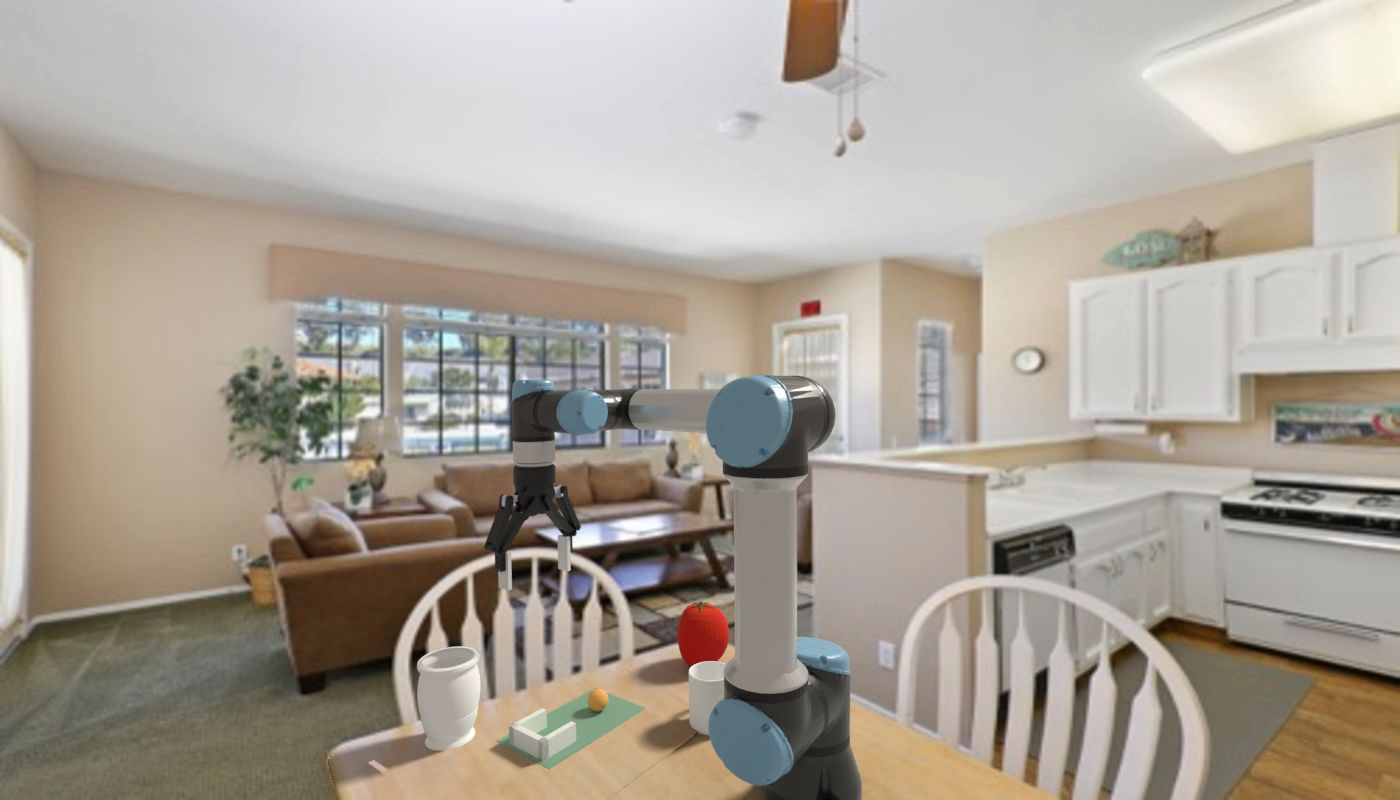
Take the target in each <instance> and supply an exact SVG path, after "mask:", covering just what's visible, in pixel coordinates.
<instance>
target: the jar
mask: <svg viewBox="0 0 1400 800" xmlns="http://www.w3.org/2000/svg"><path fill="white" fill-rule="evenodd" d="M480 656H481V655H480V651H479V650H478V649H477V648H474V647H471V646H463V645H461V646H460V645H459V646H449V647H443V648H439V649H436V650H433V651H430V652H428V653H426V654H425V655H423V656H422V657H421V658H420V659H419V660H418V661H417V664H416V669H417V672H419V677H418V681H417V707H418V712H419V715H420V722H421V725H422V726H421V727H422V729H423V731H424V733H425V735H426V738H425V741H424V745H425V747H426V748H427V749H429V750H432V751H439V752H440V751H448V750H453V749H458V748H460V747H461V746H464V745H467V743H469V742H470V741H471V740H472V739H474V737H475V735H476V729H475V728H474V725H475V722H476V719H477V717H478V711H479V703H480V697H481V676H480V670H479V666H478V663H479V660H480Z"/></svg>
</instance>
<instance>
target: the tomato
mask: <svg viewBox="0 0 1400 800" xmlns="http://www.w3.org/2000/svg"><path fill="white" fill-rule="evenodd" d="M676 633H677V644H678V645H677V646H678V650H679V652H680V656H681V658H682V660H683V662H684V663H685V665H687V666H688V667H689V668H691V667H692V666H693V665H695V664H697V663H700V662H706V661H716V662H719V660H720V659H721V658H722V657H723V655H724V654H725V653H726V650H727V648H728V646H729V641H730V630H729V625H728V620H727V618H726V617H725V614H724V613H723V612H722V611H721V610H720V609H719V608H718V607H717V606H715V605H713V604H711V603H709V601H706V602H703V601H699V602H691V604H689V605H687V606H686V607H685V609H684V610H683V611H682V612H681V615H680V619H679V622H678V625H677V632H676Z"/></svg>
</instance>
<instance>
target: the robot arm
mask: <svg viewBox="0 0 1400 800" xmlns="http://www.w3.org/2000/svg"><path fill="white" fill-rule="evenodd" d="M510 405H511V421H512V422H511V427H512V430H511V431H512V461H513V463H514V464H516V465H514V466H513V468H512V480H513V481H512V482H513V486H514V488H515V490H514V494H511V495H510V494H504V493H502V494H500V495H499V499H498V508H497V510H496V514H495V516H494V519H493V521H492V524H491V527H490V530H489V531H488V532H489V533H488V534H487V538H486V539H485V543H484V545H483V549H484V550H485V551H488V552H492V553H493V554H494V569H495V571H496V572H498V573H497V574H498V588H499V589H501V590H506V591H512V589H513V577H512V575H513V574H512V572H513V571H512V552H510V551H508V550H509V549H510V547H511V546H512V543H513V542H514V540H515V538H516V537H517V535H518V533H519V531H520V530H521V528H522V527H523V525H524V523H525V521H527V520H528V519H529V517H535V516H537V515H539V514H541V515H544V514H545V515H546V516H547V517H548V519H549V520H550V521H551V522H552V524H554V526H555V528H556V529H557V530H558V531H559V532H560V533H561V534H558V535H557V569H558V570H560V571H564V572H569V571H571V570H572V568H571V565H572V562H571V561H572V560H571V558H572V557H571V552H572V551H573V537H576V536H577V533H578V531H580V530H581V529H582V526H581V522H580V521H579V518H578V517H577V514H576V512H575V509H574V507H573V504H572V502H571V500H570V497H569V491H568V486H567V485H563V484H555V483H556V481H557V479H556V465H555V463H553V462H555V461H556V435H555V433H556V434H567V435H568V434H570V435H573V436H583V435H585V436H586V435H593V434H596V433H597V432H604V431H613V430H616V431H617V430H634V431H635V430H638V431H642V430H646V431H659V432H660V431H661V432H676V433H677V432H678V433H679V432H680V433H697V434H699V433H700V434H706V437H707V440H708V444H709V446H710V448H712V449H713V450H714V451H715V452H714V454H715V455H716V456H717V457H718V458H719V459H720V460H721V461H722V476H723V477H724V478H725V479H726V480H727V481H728V482H729V483H730V484H731V485H732V487H733V542H734V543H733V555H734V556H733V557H734V558H733V559H734V560H733V562H734V567H733V568H734V570H733V571H734V575H733V577H734V579H733V581H734V582H733V583H734V585H733V586H734V589H733V590H734V656H733V658H731V659H730V660H729V661H728V662H727V663H725V664H726V666H725V669H724V699H723V700H721V701H719V702H718V703H717V704H716V705H715V707H714V709H713V710H712V712H711V714H710V717H709V722H708V731H709V740H710V743H711V746H712V749H713V750H714V752H715V754H716V756H717V757H718V759H719V760H721V761H722V763H723V765H724V766H725V768H726V769H727V770H728V771H729V772H730V773H731V774H733V776H735V777H737V778H738V779H739V780H742V781H743V782H745V783H748V784H751V785H753V786H763V787H762V788H763V792H764V795H765V797H766V799H767V800H862V798H863V797H862V796H863V795H862V794H863V791H862V790H863V784H862V783H863V782H862V777H861V773H860V772H859V767H858V765H857V762H856V758H855V755H854V753H853V749H852V745H851V675H852V671H851V668H850V667H851V665H850V655H849V654H848V652H847V650H845V649H844V648H843V647H842V646H840V645H839V644H836V643H834V642H832V641H829V640H826V639H822V638H816V637H809V636H798V527H797V526H798V515H797V514H798V513H797V512H798V486H799V485H800V484H801V483H802V482H803V481H804V480H805V479H807V477H808V476H809V453H811V452H814V451H815V450H816V449H818V448H820V447H821V446H822V445H823V444H825V443H826V441H827V440H828V439H829V437H830V436H831V434H832V432H833V429H834V426H835V423H836V408H835V404H834V401H833V398H832V397H831V395H830V393H829V391H827V389H826V388H825V387H824V386H823V385H822V384H821V383H819V382H818V381H816V380H814V379H813V378H810V377H806V376H802V375H772V374H770V375H769V374H767V375H766V374H757V375H750V376H749V375H748V376H744V377H743V376H742V377H739V378H736V379H732V380H731V381H729V382H728V383H727V384H725V385H723V387H722V388H666V389H665V388H662V389H661V388H656V389H655V388H643V389H642V388H641V389H640V388H639V389H637V388H623V389H622V388H619V389H618V388H617V389H616V388H615V389H573V390H572V389H570V390H568V389H567V390H556V389H555V382H554V381H553V380H551V379H517V380H515V381H514V382H513V383H512V387H511V401H510ZM554 484H555V485H554ZM554 498H555V501H556V503H557V505H556V504H555V502H554V501H553V500H554ZM559 510H560V511H559Z"/></svg>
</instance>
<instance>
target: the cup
mask: <svg viewBox="0 0 1400 800" xmlns="http://www.w3.org/2000/svg"><path fill="white" fill-rule="evenodd" d="M726 664H727V663H725V662H720V661H717V662H716V661H706V662H700V663H697V664H695V665H693V666H692V667H689V669H688V716H689V717H688V719H689V720H688V721H689V724H690V727H692V728H693V729H694V730H695V731H696V733H697V734H699V735H702V736H709V731H708V722H709V717H710V714H711V712H712V710H713V709H714V707H715V705H716V704H717V703H718V702H719V701H721V700H723V699H724V669H725V666H726Z"/></svg>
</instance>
